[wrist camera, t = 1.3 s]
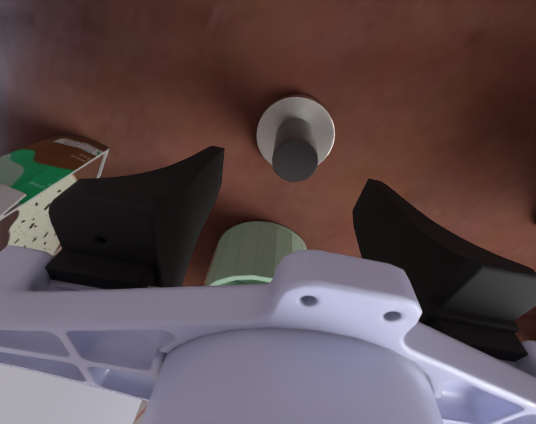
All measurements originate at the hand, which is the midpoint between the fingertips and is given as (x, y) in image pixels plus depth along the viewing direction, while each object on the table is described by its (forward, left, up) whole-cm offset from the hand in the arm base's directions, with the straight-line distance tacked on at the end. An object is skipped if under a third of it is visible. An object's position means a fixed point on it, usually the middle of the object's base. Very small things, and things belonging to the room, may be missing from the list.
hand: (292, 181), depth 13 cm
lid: (0, 0, -6) cm, 6 cm away
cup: (-7, +10, -6) cm, 14 cm away
